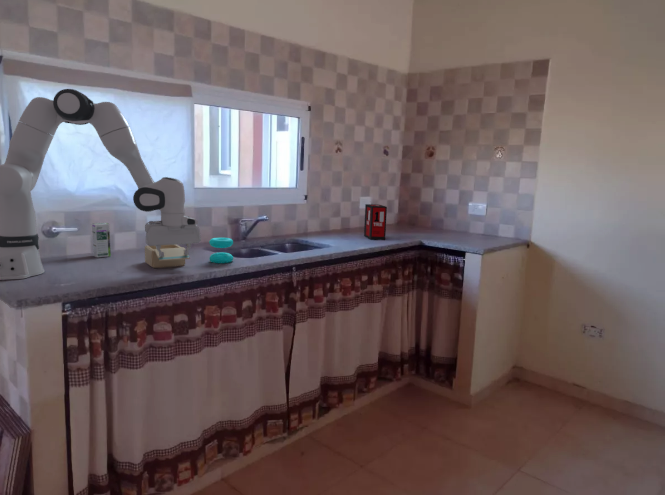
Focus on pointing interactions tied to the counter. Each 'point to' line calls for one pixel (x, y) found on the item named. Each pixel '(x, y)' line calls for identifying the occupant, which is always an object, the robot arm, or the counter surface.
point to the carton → (154, 261)
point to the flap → (172, 254)
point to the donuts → (221, 256)
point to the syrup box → (101, 240)
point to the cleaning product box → (375, 221)
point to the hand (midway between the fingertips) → (174, 255)
